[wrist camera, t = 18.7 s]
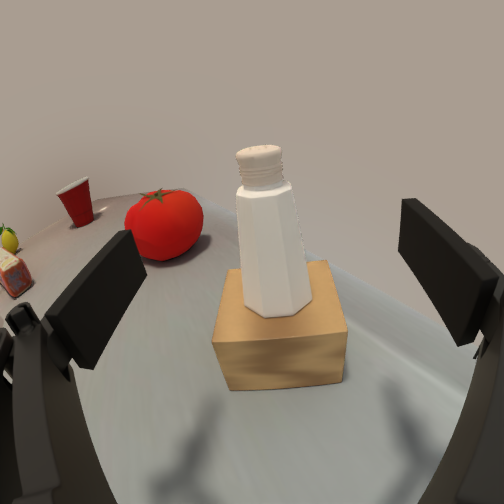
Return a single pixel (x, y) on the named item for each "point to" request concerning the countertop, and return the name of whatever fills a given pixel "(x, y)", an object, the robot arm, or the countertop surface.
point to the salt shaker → (269, 236)
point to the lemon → (9, 240)
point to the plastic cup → (77, 202)
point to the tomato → (165, 223)
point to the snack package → (13, 273)
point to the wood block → (281, 338)
